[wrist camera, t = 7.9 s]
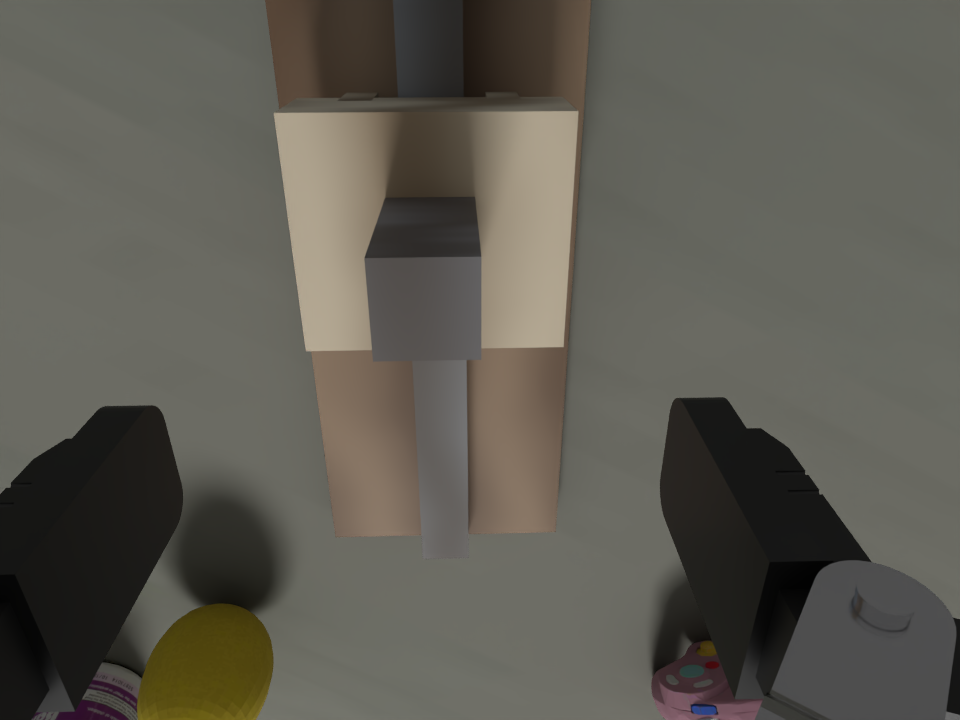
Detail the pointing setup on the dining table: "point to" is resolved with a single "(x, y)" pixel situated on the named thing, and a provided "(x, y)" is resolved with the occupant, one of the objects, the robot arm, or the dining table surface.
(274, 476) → the dining table surface
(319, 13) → the rail
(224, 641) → the lemon
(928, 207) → the dining table surface
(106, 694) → the pill bottle
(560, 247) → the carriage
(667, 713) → the video game controller
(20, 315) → the dining table surface
